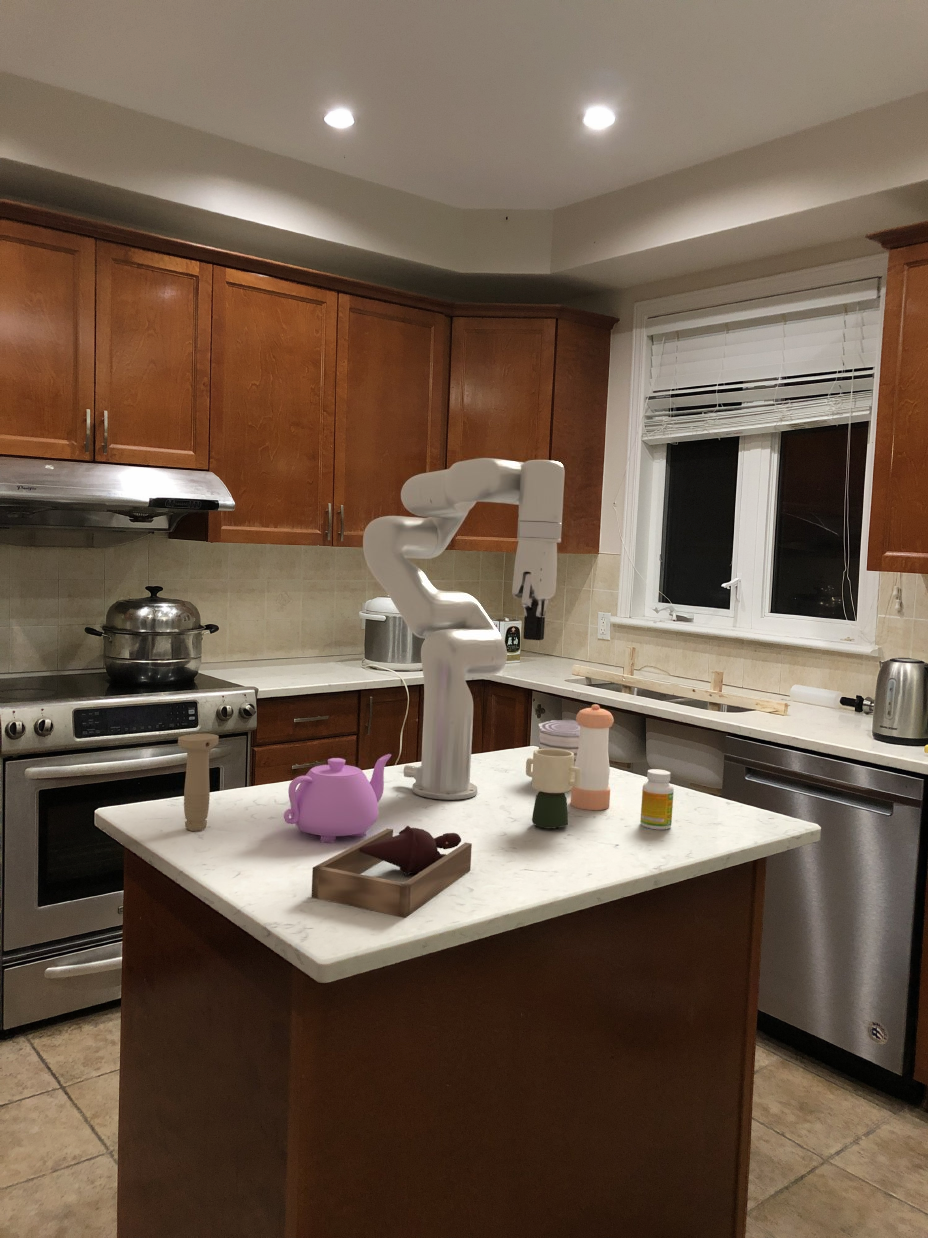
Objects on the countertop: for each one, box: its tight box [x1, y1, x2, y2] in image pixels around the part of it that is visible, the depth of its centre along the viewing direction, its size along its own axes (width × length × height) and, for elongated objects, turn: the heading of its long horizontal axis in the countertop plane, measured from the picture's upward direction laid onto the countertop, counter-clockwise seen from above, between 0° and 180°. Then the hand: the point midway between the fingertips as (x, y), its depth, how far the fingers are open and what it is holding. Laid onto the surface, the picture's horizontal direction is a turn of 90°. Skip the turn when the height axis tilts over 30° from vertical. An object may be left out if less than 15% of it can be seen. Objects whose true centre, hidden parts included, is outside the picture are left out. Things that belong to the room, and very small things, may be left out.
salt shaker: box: [570, 703, 615, 811], centre depth 180 cm, size 7×7×19 cm
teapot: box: [283, 753, 392, 844], centre depth 156 cm, size 20×14×12 cm
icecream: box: [359, 825, 462, 877], centre depth 138 cm, size 7×7×15 cm
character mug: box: [525, 748, 581, 829], centre depth 165 cm, size 11×7×13 cm, turn 52°
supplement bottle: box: [639, 768, 675, 831], centre depth 169 cm, size 5×5×10 cm
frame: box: [311, 827, 473, 918], centre depth 134 cm, size 14×21×4 cm, turn 157°
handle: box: [177, 732, 220, 832], centre depth 154 cm, size 5×6×15 cm
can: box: [538, 719, 580, 766], centre depth 198 cm, size 11×11×12 cm
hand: (533, 639), depth 166 cm, fingers closed
